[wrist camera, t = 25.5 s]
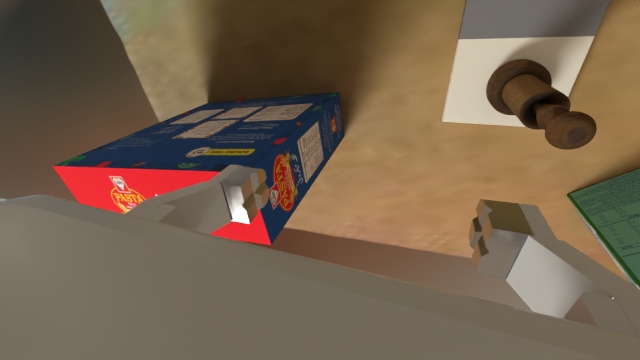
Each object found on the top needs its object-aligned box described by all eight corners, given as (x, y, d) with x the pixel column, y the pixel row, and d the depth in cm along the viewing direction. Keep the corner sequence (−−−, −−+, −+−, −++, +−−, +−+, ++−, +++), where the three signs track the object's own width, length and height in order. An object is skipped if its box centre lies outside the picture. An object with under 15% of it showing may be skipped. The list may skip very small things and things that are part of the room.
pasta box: (220, 139, 58) (90, 218, 35) (208, 103, 54) (52, 165, 31) (343, 137, 48) (271, 245, 25) (338, 92, 44) (248, 172, 21)
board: (441, 119, 41) (442, 121, 40) (480, -74, 29) (482, -77, 28) (550, 125, 36) (554, 128, 35) (646, -97, 25) (655, -101, 24)
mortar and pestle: (475, 82, 36) (509, 127, 21) (529, 46, 32) (613, 72, 18) (501, 119, 37) (548, 186, 23) (555, 89, 33) (654, 146, 19)
